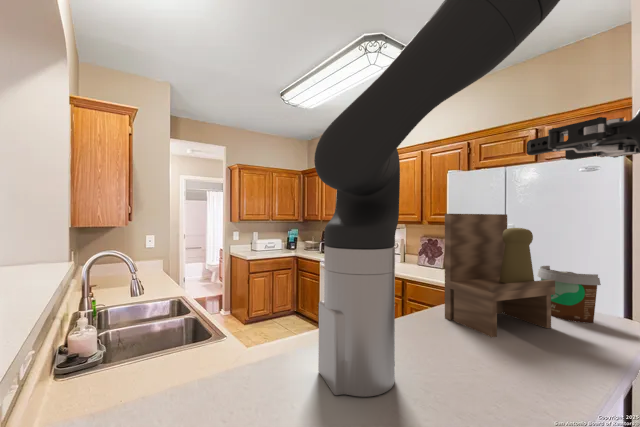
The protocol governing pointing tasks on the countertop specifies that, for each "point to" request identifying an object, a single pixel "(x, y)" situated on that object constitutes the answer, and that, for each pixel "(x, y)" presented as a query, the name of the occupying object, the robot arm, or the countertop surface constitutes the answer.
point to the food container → (572, 294)
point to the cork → (517, 256)
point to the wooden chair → (487, 277)
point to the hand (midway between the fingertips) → (548, 150)
